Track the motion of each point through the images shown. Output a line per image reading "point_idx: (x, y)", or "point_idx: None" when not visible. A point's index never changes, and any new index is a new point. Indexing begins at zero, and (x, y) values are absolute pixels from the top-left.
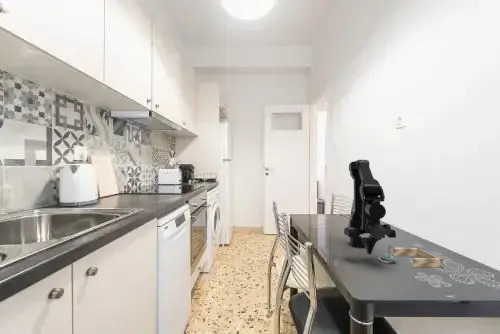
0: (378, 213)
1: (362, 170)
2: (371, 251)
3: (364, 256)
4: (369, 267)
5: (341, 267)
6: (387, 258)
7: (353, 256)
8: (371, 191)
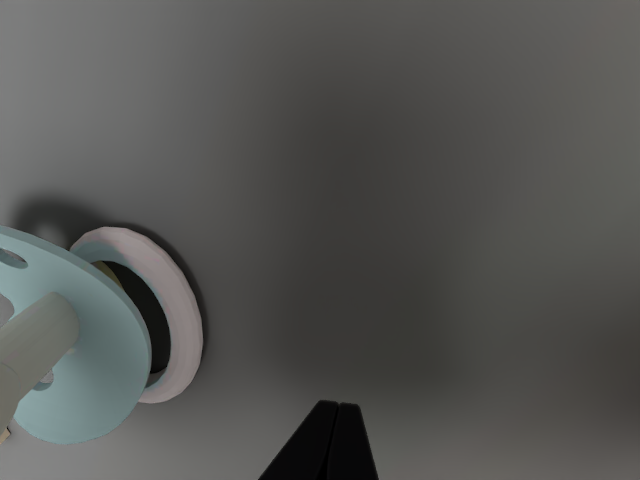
0: None
1: None
2: (298, 441)
3: None
4: (551, 21)
5: None
6: (76, 262)
7: (484, 476)
8: None
